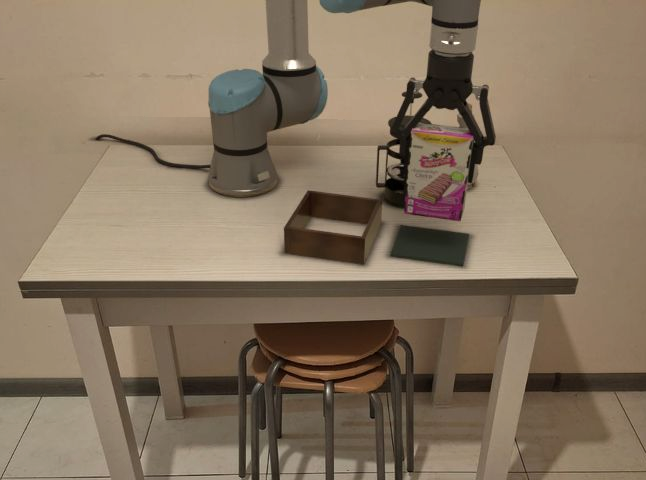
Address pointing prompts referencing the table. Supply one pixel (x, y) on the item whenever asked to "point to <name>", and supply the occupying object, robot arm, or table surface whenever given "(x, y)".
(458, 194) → the candy bar box
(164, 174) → the table surface
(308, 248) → the crate
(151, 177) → the table surface
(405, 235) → the mat
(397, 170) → the french press
